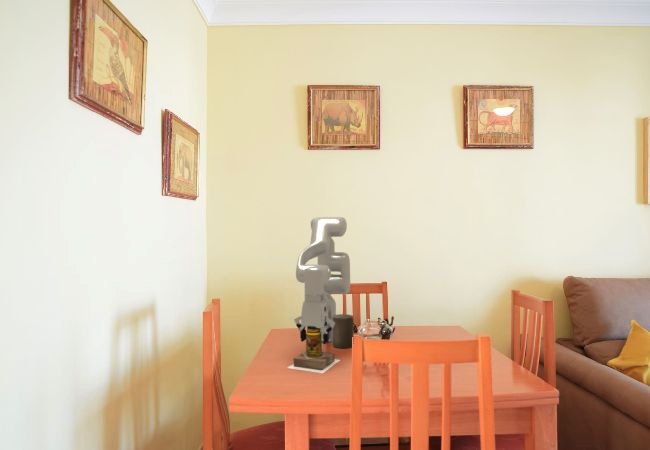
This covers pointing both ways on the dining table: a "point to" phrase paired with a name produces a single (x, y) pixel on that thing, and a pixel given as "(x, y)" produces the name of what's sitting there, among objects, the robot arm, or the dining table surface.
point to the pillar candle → (342, 331)
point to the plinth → (314, 361)
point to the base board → (314, 369)
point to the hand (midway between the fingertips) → (314, 341)
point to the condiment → (313, 343)
